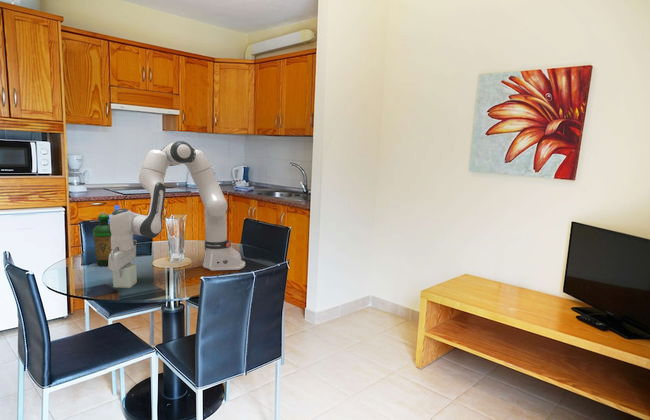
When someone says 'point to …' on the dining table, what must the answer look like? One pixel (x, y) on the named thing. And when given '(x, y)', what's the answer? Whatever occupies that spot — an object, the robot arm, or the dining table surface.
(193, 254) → the dining table surface
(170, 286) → the dining table surface
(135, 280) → the beige rounded cube
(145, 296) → the dining table surface
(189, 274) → the dining table surface
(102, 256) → the bottle
